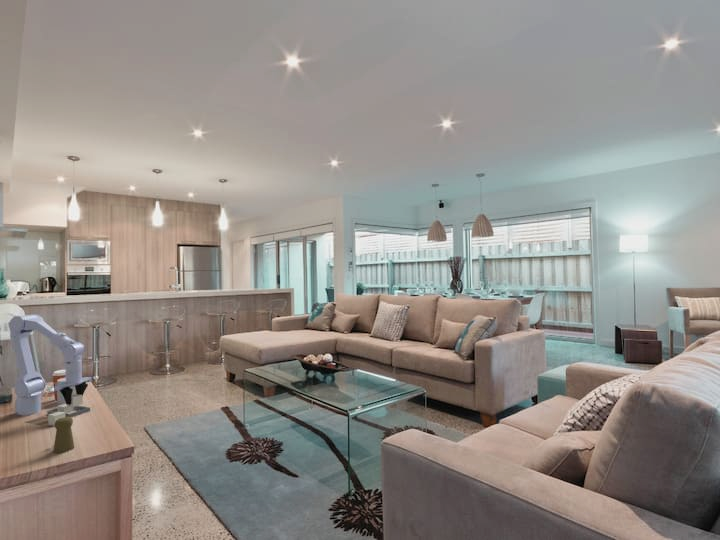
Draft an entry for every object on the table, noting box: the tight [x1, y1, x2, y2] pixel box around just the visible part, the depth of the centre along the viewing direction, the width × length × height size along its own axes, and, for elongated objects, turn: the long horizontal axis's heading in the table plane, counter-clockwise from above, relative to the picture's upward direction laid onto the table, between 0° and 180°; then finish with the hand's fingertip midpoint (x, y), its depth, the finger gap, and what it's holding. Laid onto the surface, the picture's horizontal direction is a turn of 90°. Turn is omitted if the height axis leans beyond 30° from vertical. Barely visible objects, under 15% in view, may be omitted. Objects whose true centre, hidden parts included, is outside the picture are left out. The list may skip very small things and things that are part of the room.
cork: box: [52, 417, 75, 454], centre depth 141 cm, size 6×6×11 cm
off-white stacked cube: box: [67, 394, 84, 407], centre depth 172 cm, size 4×4×4 cm
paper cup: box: [51, 369, 66, 402], centre depth 196 cm, size 8×8×14 cm
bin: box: [46, 405, 91, 418], centre depth 173 cm, size 13×9×3 cm
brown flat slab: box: [24, 416, 55, 428], centre depth 163 cm, size 16×7×2 cm, turn 70°
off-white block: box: [47, 411, 65, 427], centre depth 161 cm, size 4×4×4 cm
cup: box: [56, 378, 76, 405], centre depth 189 cm, size 8×8×12 cm
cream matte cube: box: [56, 403, 74, 414], centre depth 174 cm, size 4×4×4 cm
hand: (73, 402), depth 172 cm, fingers closed on off-white stacked cube, 4 cm apart
